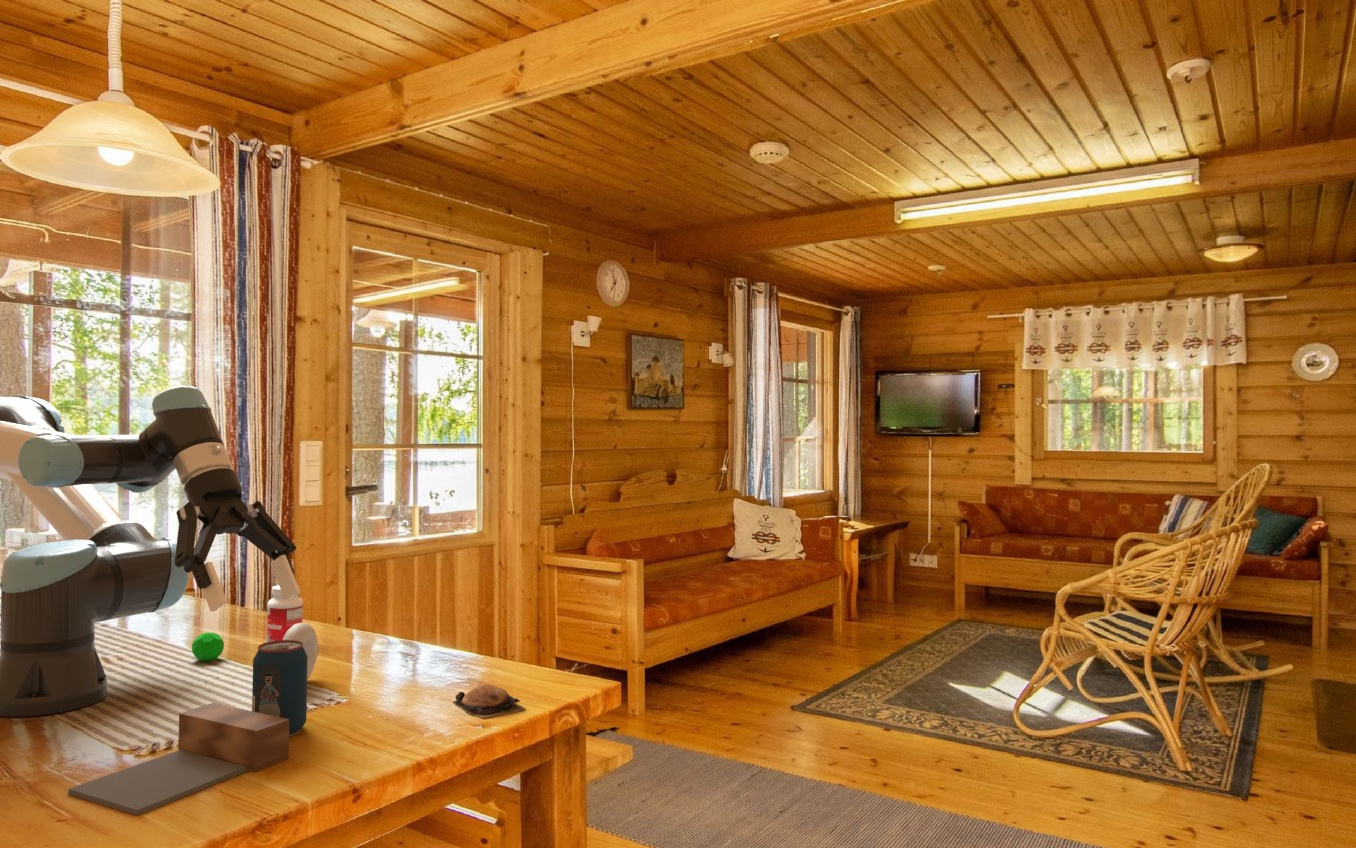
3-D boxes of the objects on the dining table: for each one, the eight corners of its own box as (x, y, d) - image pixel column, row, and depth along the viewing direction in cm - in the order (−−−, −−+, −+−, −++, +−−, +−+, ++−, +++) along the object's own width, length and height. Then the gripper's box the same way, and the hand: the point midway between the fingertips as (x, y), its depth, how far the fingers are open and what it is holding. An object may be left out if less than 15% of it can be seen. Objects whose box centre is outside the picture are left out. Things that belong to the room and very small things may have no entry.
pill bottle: (260, 645, 173) (261, 586, 173) (291, 639, 178) (292, 582, 178) (277, 651, 169) (278, 591, 169) (308, 645, 174) (309, 586, 174)
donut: (295, 694, 144) (296, 630, 144) (273, 694, 144) (274, 630, 144) (320, 676, 154) (321, 616, 154) (300, 676, 154) (301, 616, 154)
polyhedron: (185, 662, 160) (185, 635, 160) (205, 655, 165) (206, 629, 165) (209, 665, 159) (210, 637, 159) (229, 658, 164) (230, 631, 164)
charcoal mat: (68, 794, 105) (68, 788, 105) (180, 754, 118) (180, 750, 118) (137, 815, 100) (137, 810, 100) (246, 771, 113) (246, 767, 113)
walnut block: (178, 752, 119) (179, 713, 119) (212, 740, 123) (213, 702, 123) (255, 771, 113) (256, 731, 113) (288, 758, 117) (289, 719, 117)
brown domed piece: (529, 714, 139) (530, 689, 139) (478, 724, 134) (479, 699, 134) (496, 696, 147) (496, 672, 147) (446, 705, 142) (447, 681, 142)
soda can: (301, 720, 132) (302, 636, 132) (310, 735, 126) (312, 647, 126) (248, 728, 128) (249, 642, 128) (255, 744, 122) (257, 653, 122)
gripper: (150, 464, 130) (201, 599, 124) (287, 466, 153) (335, 581, 147) (117, 491, 132) (166, 624, 127) (257, 489, 155) (304, 603, 150)
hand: (257, 601), depth 137 cm, fingers open, 13 cm apart
